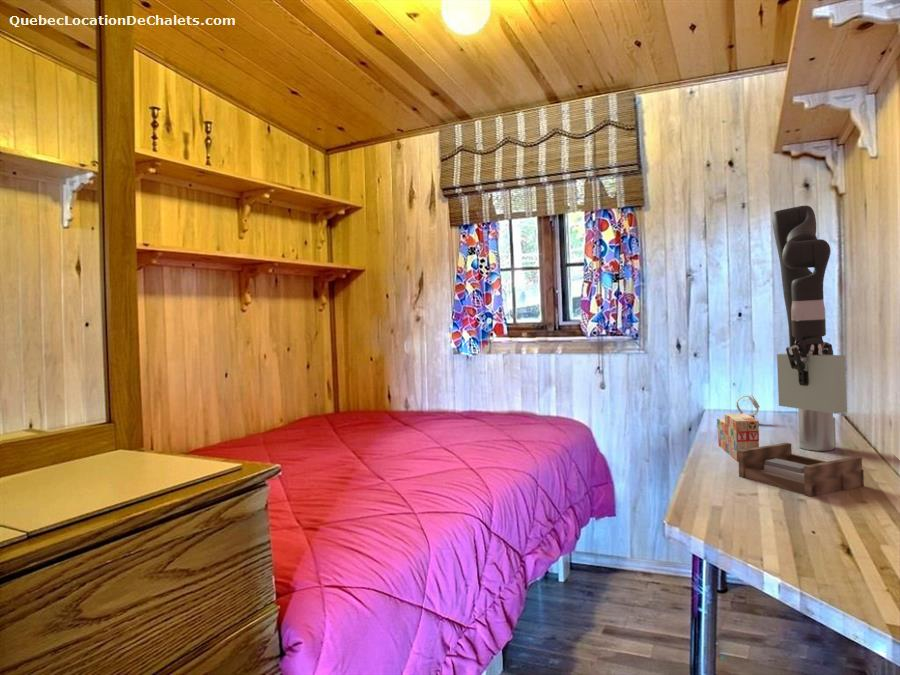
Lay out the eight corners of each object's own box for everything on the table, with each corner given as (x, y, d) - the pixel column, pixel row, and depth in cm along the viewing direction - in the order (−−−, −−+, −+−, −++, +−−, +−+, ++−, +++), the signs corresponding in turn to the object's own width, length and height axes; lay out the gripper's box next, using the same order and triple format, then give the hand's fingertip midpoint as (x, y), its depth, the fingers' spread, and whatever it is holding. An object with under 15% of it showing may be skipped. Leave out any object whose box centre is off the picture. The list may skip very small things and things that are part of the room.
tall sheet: (789, 404, 162) (787, 353, 162) (846, 411, 147) (845, 355, 147) (778, 405, 161) (777, 354, 160) (835, 413, 146) (833, 356, 145)
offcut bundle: (773, 475, 160) (772, 456, 160) (825, 489, 146) (825, 469, 146) (759, 477, 159) (758, 459, 158) (810, 492, 144) (810, 471, 144)
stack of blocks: (717, 446, 196) (716, 408, 196) (738, 446, 195) (736, 408, 194) (737, 462, 175) (735, 420, 175) (760, 461, 174) (758, 420, 173)
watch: (760, 425, 225) (759, 396, 224) (737, 425, 228) (736, 396, 228) (759, 423, 230) (758, 394, 229) (736, 422, 233) (735, 394, 233)
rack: (788, 467, 166) (787, 442, 166) (863, 485, 146) (863, 457, 146) (739, 476, 160) (738, 450, 160) (810, 496, 140) (809, 467, 140)
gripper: (814, 317, 159) (816, 381, 160) (775, 319, 154) (777, 385, 155) (841, 316, 152) (843, 383, 153) (801, 319, 147) (803, 388, 148)
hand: (810, 384), depth 154 cm, fingers closed on tall sheet, 4 cm apart
